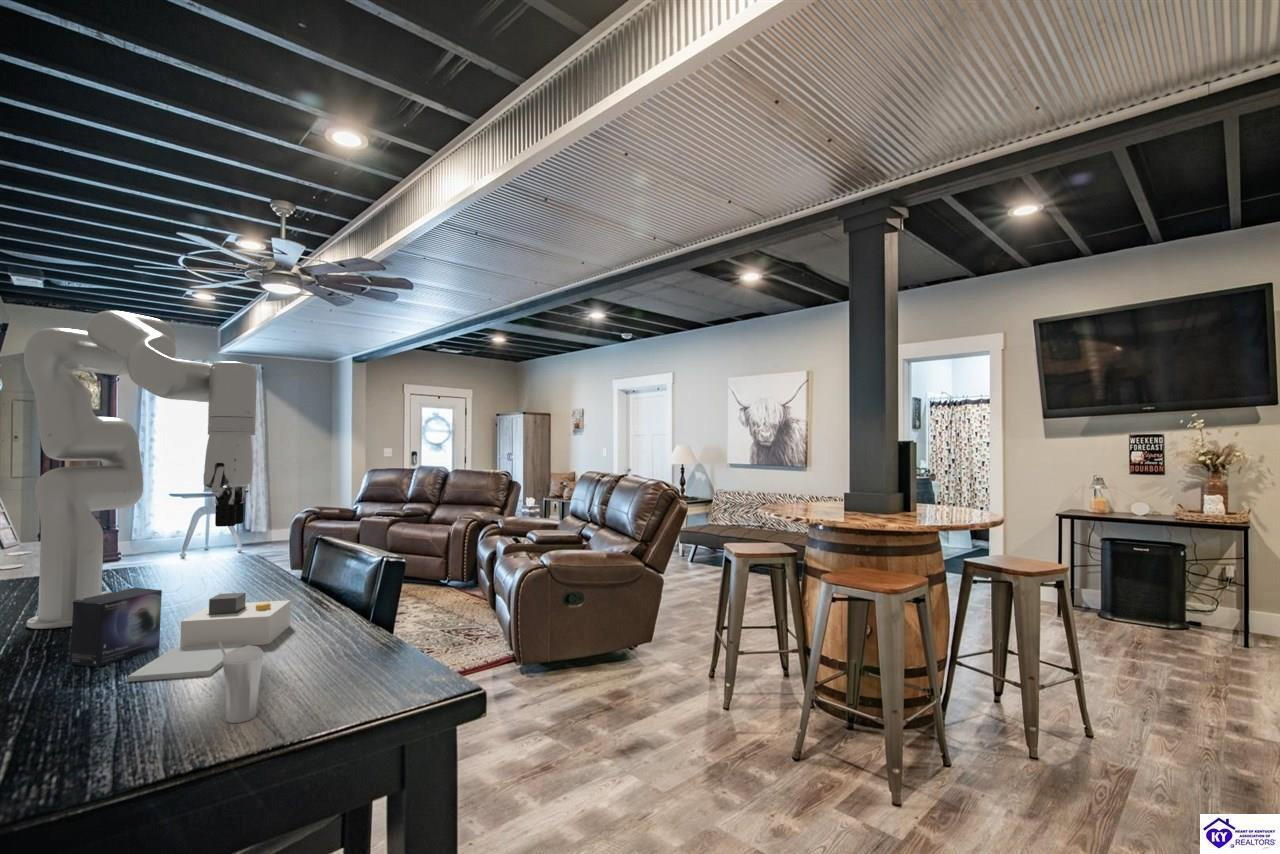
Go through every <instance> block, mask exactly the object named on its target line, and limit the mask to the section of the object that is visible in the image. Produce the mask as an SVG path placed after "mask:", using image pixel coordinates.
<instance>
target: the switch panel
mask: <svg viewBox="0 0 1280 854" xmlns="http://www.w3.org/2000/svg"><path fill="white" fill-rule="evenodd" d="M291 605H292V600H290V599H289V600H276V601H275V600H272V601H271V600H269V601H254V602H253V601H252V602H245V609H243V610H242V611H240V612H239V613H236V614H218V615H209V605H207V606H206V607H204V608H202V609H201V610H199V611H197V612H195V613H193V614H191V615H190V616H188V617H186V618H183V620H181V621H180V642H179V643H180V644H179V647H188V646H204V645H219V643H218V642H221V644H235V643H245V646H247V645H251V646H259V645H260V646H262V645H269V644H271V643H272V642H274V640H276V639H277V638H278V637H279V636H280V635H281V634H282V633H284V632H285V631H286V630H287V629H288V628H289V627H290V626H291V613H292V612H291V610H292V609H291V607H292V606H291Z"/></svg>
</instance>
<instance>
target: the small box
mask: <svg viewBox="0 0 1280 854" xmlns="http://www.w3.org/2000/svg"><path fill="white" fill-rule="evenodd" d="M162 595H163V591H162V589H152V588H145V587H144V588H142V587H131V588H127V589H122V590H117V591H112V592H109V593H107V594H103V595H98V596H93V597H88V598H84V599H79V600H74V601H73V618H72V626H71V638H70V639H71V640H70V654H69V661H68V664H69V665H75V666H85V667H93V668H94V667H95V668H98V667H102V666H106V665H109V664H111V663H115V662H118V661H121V660H125V659H127V658H131V657H134V656H138V655H140V654H144V653H147V652H150V651H154V650H156V649H160V641H161V640H160V639H161V637H160V635H161V618H162V617H161V615H162Z"/></svg>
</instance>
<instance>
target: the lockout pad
mask: <svg viewBox="0 0 1280 854" xmlns="http://www.w3.org/2000/svg"><path fill="white" fill-rule="evenodd" d="M222 646H223V649H224V651H225V653H226V654H227V653H228V652H230V651H233V650H234V649H236V648H242V647H245V643H235V644H222ZM223 657H224V655H223V653H222V650H221V648H220V646H219V645H204V646H188V647H180V646H174V647H172V648H171V649H169V650H168V651H166V652H164V653H163V654H161V655H160V656H158V657H156V658H155V659H153V660H151V661H149V662H148V663H146V664H145V665H143V666H142V667H141V668H138V669H137V670H135V671H133V672H132V673H131V674H129V675H127V677H126V680H127V683H129V682H141V681H143V682H144V681H156V680H157V681H158V680H169V679H180V678H183V679H184V678H195V677H209V676H211V675H213V674H214V673H215V672H216V671H218V669H220V668H221V667H223V660H222V659H223Z"/></svg>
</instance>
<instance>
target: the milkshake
mask: <svg viewBox="0 0 1280 854" xmlns="http://www.w3.org/2000/svg"><path fill="white" fill-rule="evenodd" d="M218 643H219V646H220V648H221V650H222V653H223V655H224V657H223V659H222V660H223V665H222V668H223V669H222V670H223V679H224V680H223V681H224V695H225V713H226V714H225V715H226V722H228V723H230V724H240V723H241V724H242V723H244V722H245V723H246V722H249V721H250V720H252V719H255V718H256V716H257V714H258V713H257V711H258V701H259V695H260V694H259V693H260V685H261V684H260V683H261V676H262V669H263V660H264V655H265V653H264V651H263V650H262V649H261V647H259V646H258V645H247V646H245V647H242V648H236V649H234V650H233V651H230V652H228V653H227V654H226V653H225V651H224V649H223V646H222V644H221V642H218Z"/></svg>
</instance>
